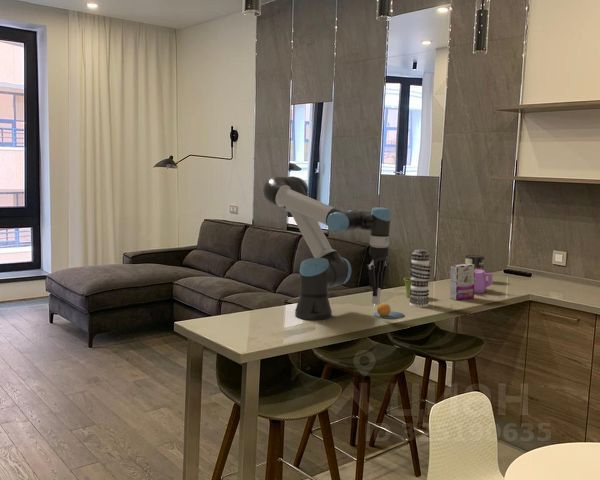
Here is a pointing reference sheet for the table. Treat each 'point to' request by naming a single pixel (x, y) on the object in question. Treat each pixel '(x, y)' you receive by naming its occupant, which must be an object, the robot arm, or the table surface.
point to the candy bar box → (462, 281)
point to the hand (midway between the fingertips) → (375, 303)
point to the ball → (383, 309)
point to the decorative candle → (419, 278)
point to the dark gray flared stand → (475, 261)
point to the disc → (390, 315)
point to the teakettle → (481, 281)
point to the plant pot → (408, 286)
